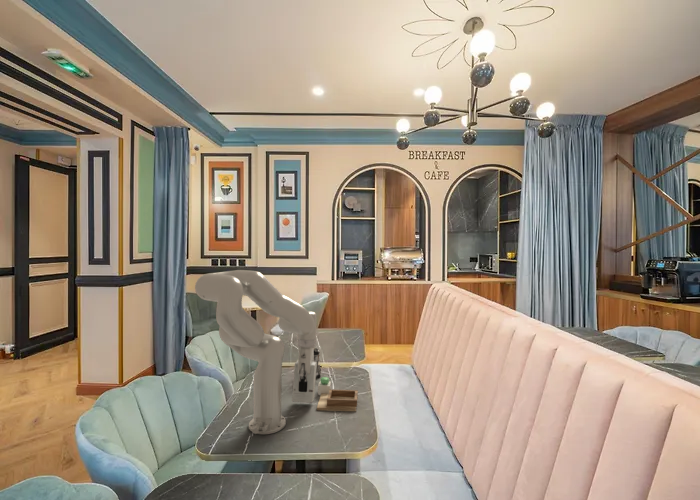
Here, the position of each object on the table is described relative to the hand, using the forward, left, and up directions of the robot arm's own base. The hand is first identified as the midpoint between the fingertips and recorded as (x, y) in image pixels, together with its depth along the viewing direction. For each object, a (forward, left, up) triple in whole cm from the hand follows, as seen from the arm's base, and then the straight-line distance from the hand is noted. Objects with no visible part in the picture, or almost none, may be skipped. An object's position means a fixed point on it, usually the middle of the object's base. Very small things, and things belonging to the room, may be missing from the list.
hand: (304, 388), depth 139 cm
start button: (+12, -7, -6) cm, 15 cm away
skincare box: (0, 0, -5) cm, 5 cm away
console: (+12, -7, -7) cm, 15 cm away
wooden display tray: (+2, -13, -7) cm, 15 cm away
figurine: (+28, +2, -7) cm, 29 cm away
